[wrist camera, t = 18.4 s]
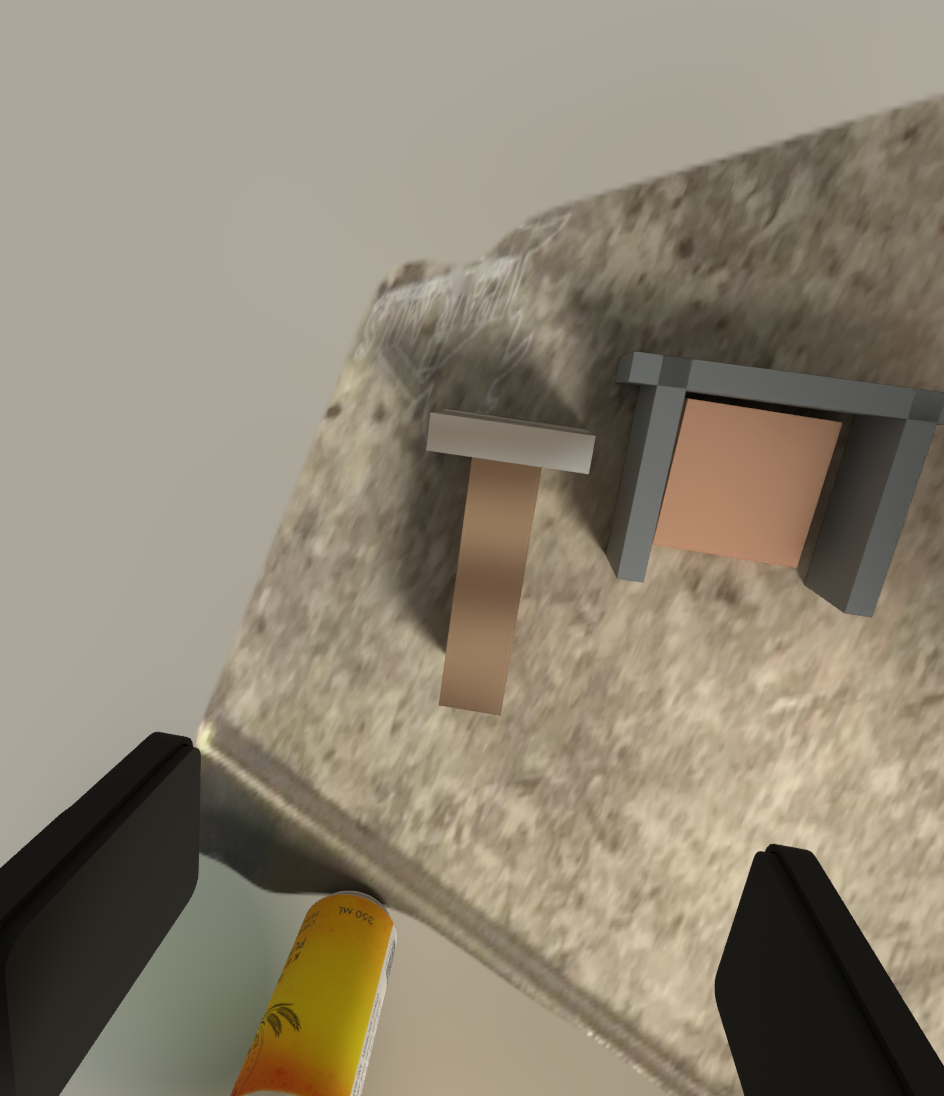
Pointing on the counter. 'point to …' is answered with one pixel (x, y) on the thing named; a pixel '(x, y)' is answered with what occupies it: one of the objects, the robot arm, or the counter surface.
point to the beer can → (324, 1003)
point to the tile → (744, 482)
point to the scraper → (495, 540)
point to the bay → (860, 488)
